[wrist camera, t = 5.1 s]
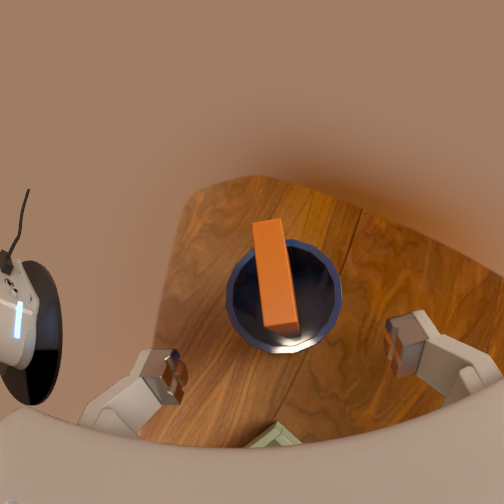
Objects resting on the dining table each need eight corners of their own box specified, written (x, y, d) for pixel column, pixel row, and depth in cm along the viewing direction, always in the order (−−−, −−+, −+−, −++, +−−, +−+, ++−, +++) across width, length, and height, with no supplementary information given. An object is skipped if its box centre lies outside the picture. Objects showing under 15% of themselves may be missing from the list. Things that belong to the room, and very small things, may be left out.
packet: (286, 338, 24) (263, 327, 11) (279, 288, 26) (250, 222, 13) (301, 336, 24) (297, 322, 11) (293, 285, 25) (280, 217, 13)
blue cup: (236, 313, 26) (203, 295, 18) (289, 260, 27) (281, 218, 19) (290, 367, 23) (282, 378, 15) (345, 310, 24) (365, 290, 16)
